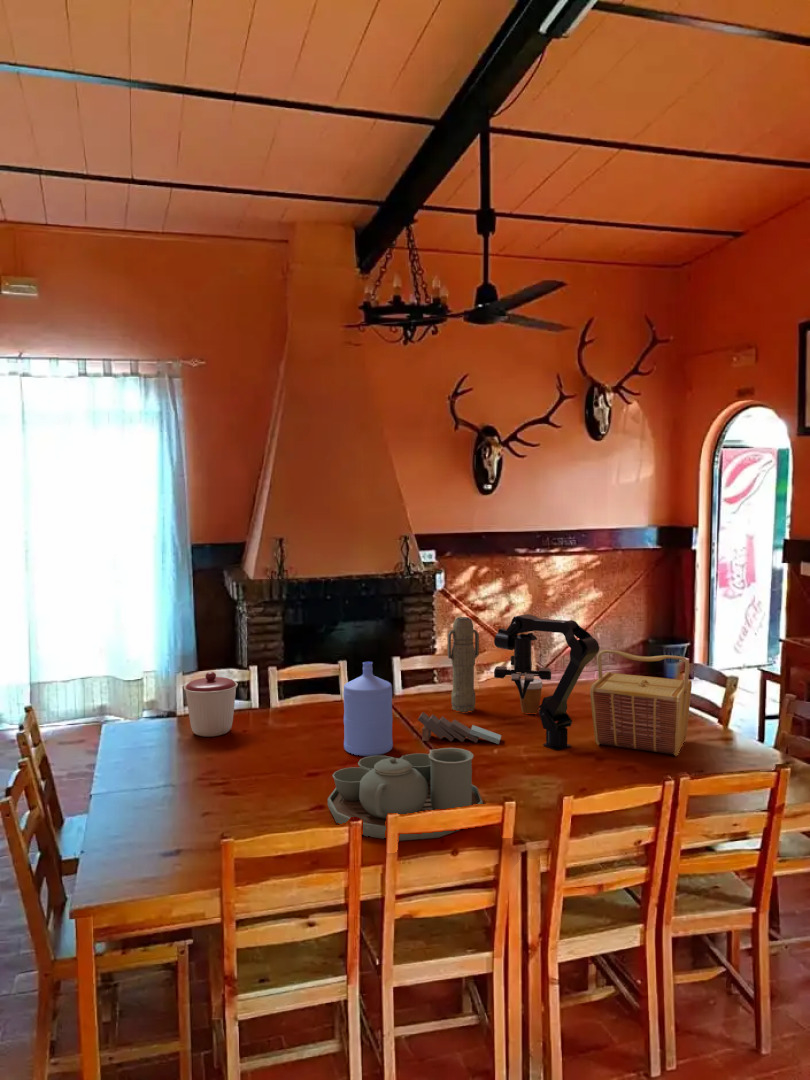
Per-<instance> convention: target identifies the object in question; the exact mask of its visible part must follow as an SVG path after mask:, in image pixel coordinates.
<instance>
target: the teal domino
mask: <svg viewBox="0 0 810 1080" xmlns="http://www.w3.org/2000/svg"><path fill="white" fill-rule="evenodd" d="M471 725H472V726H471V728H470V729H471V731H470V734H472V735H474V736H477V737H479V739H483V740H485V741H488V742H491V743H495V744H497V745H500V741H501V738H502V735H501V734H499V733H496V732H494V731H490V730H488V729H486V728H482V727H480V726H477V725H474V724H471Z"/></svg>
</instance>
